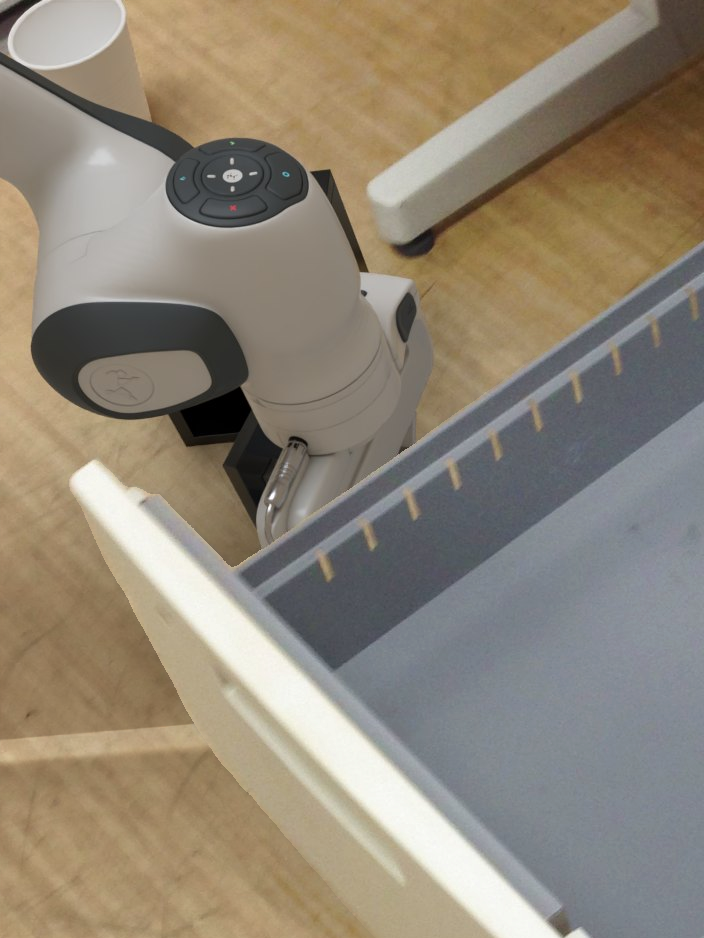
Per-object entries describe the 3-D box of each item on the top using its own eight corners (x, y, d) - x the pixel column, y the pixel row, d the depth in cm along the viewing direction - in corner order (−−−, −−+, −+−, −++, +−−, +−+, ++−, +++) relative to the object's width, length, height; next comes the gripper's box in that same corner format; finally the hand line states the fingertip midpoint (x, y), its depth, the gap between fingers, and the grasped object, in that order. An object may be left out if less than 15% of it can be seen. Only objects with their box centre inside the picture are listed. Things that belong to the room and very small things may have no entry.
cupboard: (371, 428, 131) (314, 293, 119) (186, 447, 132) (112, 315, 121) (383, 308, 137) (330, 168, 126) (206, 327, 139) (138, 191, 127)
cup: (40, 163, 153) (-17, 58, 144) (101, 86, 157) (49, -20, 148) (136, 183, 150) (83, 76, 141) (195, 104, 154) (148, -4, 145)
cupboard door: (475, 451, 128) (428, 318, 117) (405, 611, 121) (348, 486, 110) (363, 434, 130) (307, 302, 119) (288, 590, 123) (221, 465, 112)
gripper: (309, 526, 100) (376, 660, 111) (424, 260, 110) (474, 408, 121) (207, 513, 101) (283, 647, 113) (330, 252, 112) (388, 398, 123)
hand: (383, 521), depth 117 cm, fingers open, 8 cm apart
